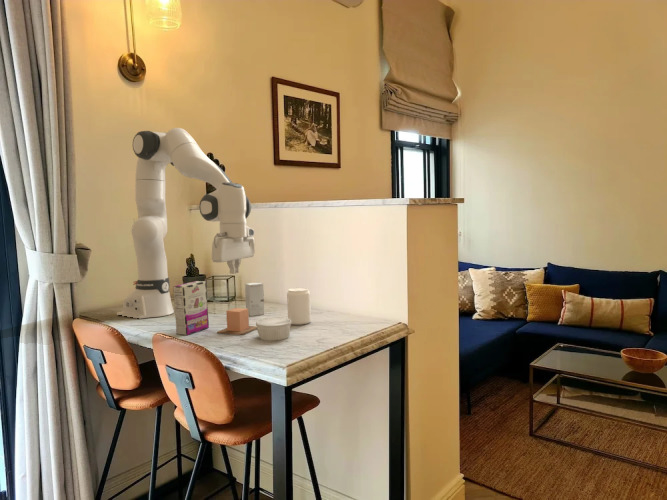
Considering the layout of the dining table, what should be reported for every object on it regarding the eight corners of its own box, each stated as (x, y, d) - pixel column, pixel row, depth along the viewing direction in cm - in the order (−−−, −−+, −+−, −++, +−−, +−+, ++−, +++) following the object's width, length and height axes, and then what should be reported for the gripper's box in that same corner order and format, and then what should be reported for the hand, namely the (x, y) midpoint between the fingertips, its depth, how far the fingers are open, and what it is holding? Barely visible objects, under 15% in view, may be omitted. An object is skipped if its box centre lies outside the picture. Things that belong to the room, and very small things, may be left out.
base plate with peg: (217, 333, 170) (216, 314, 169) (234, 326, 179) (233, 308, 178) (242, 335, 166) (242, 316, 165) (258, 328, 175) (258, 310, 174)
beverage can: (299, 326, 176) (297, 292, 174) (283, 323, 181) (282, 289, 180) (315, 322, 181) (314, 288, 180) (299, 319, 187) (298, 286, 186)
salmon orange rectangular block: (240, 331, 169) (239, 311, 168) (227, 330, 171) (226, 310, 170) (249, 327, 174) (248, 308, 173) (236, 326, 176) (235, 307, 175)
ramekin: (286, 342, 156) (286, 325, 156) (251, 342, 158) (250, 325, 157) (295, 333, 167) (295, 317, 167) (262, 332, 169) (262, 317, 168)
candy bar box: (198, 326, 180) (195, 280, 178) (209, 328, 177) (206, 281, 176) (175, 334, 170) (172, 285, 168) (186, 335, 167) (183, 286, 166)
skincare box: (250, 316, 194) (249, 284, 193) (245, 314, 198) (244, 283, 197) (265, 314, 197) (263, 283, 196) (260, 312, 201) (258, 281, 200)
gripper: (222, 233, 158) (223, 277, 160) (257, 230, 177) (258, 270, 178) (205, 233, 161) (207, 276, 162) (242, 230, 180) (243, 269, 181)
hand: (234, 273), depth 170 cm, fingers closed
